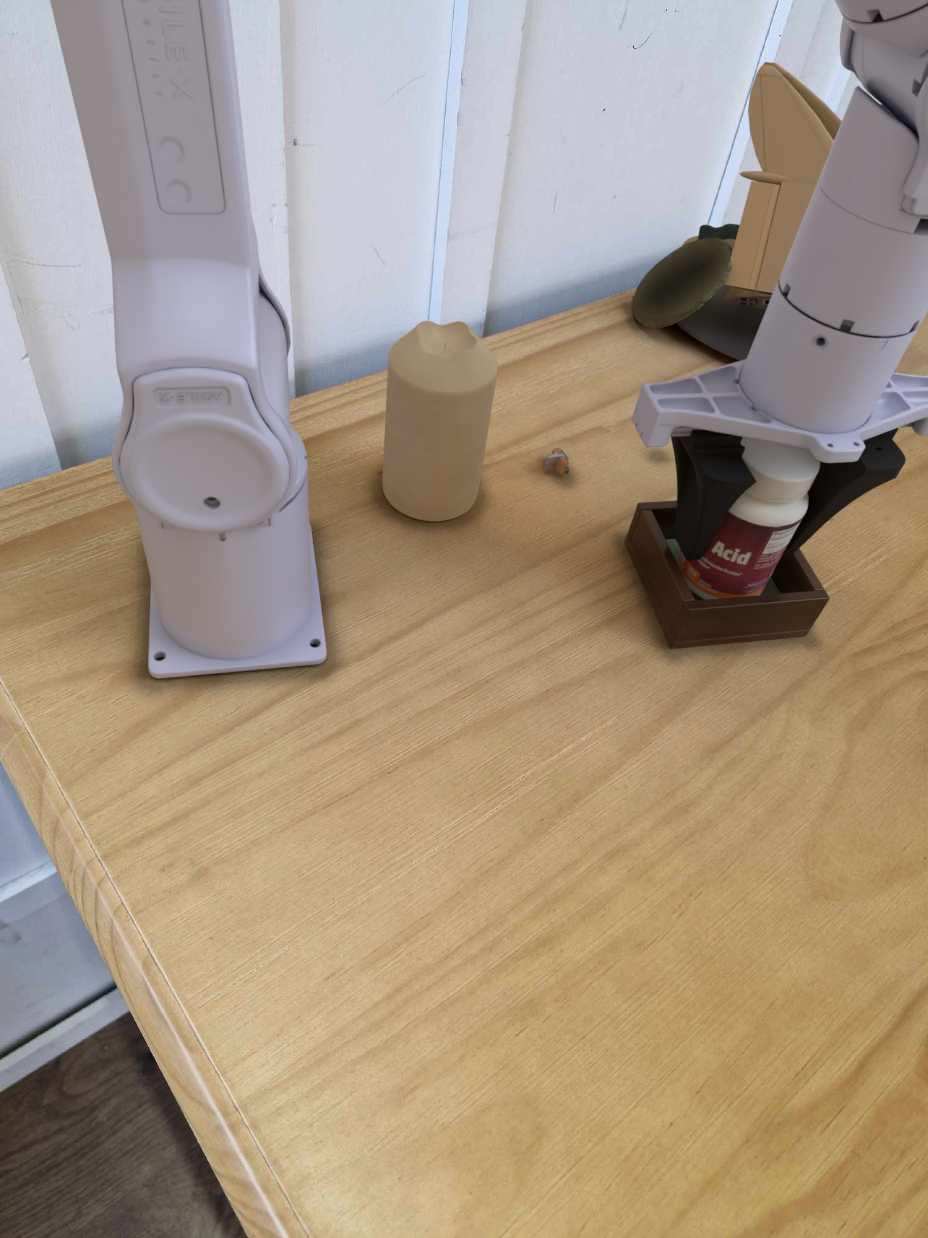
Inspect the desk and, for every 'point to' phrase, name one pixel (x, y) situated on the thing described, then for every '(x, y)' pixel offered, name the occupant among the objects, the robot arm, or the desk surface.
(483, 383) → the candle
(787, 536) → the pill bottle
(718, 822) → the desk surface
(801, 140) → the toy
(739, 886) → the desk surface
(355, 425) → the desk surface
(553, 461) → the figurine
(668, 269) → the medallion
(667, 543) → the dark brown square box
